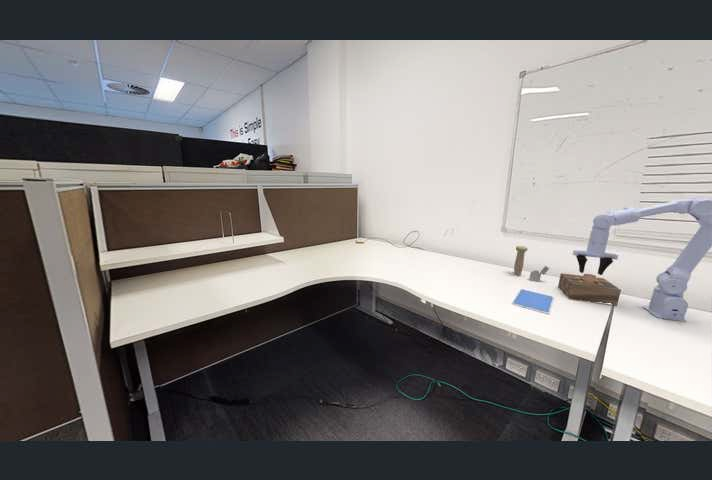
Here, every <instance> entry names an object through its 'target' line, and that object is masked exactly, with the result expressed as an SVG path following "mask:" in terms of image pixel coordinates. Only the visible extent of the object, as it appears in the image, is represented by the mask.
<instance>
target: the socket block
mask: <svg viewBox="0 0 712 480" xmlns="http://www.w3.org/2000/svg"><path fill="white" fill-rule="evenodd" d="M583 276H584V275H578V274H570V273H561V272H560V275H559V281H558V285H557V288H558V289H559V290H560V291H561V292H562V293H563V294H564V295H565V296H566V298H568V299H569V300H575V301H580V300H582V302H587V301H590V302H589V303H594V302H602V303H611V304H612V305H611V306H615V307H617V306H618V304H619V301H620V300H619V299H620V296H621V292H622V289H620V288H619V287H617V286H616V285H614V284H612V283H611V282H610V281H608V280H607V279H605V278H603V277H598V276H596V279H595V283H587V282H583V281H582V280H583Z"/></svg>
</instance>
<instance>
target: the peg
mask: <svg viewBox="0 0 712 480" xmlns="http://www.w3.org/2000/svg"><path fill="white" fill-rule="evenodd" d="M582 276H583V280H582V281H583V282H587V283H595V279H596V277H597V276H596V275H595V274H593V273H592V274H591V273H583V275H582Z"/></svg>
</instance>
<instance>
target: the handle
mask: <svg viewBox="0 0 712 480" xmlns="http://www.w3.org/2000/svg"><path fill="white" fill-rule="evenodd" d="M515 250H516V251H517V252H516V255H515V256H516V257H515V261H514V267H513V271H514V272H513V275H515V276H521V275H522V272H523V267H524V264H525V263H524V261H525V254H526V253H525V252H527V251H528V247H526V246H524V245H523V246H522V245H516V246H515Z"/></svg>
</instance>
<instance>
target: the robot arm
mask: <svg viewBox="0 0 712 480" xmlns="http://www.w3.org/2000/svg"><path fill="white" fill-rule="evenodd" d="M606 212H607V213H599V214H597V215H595V216H594V218H593V220H592V223H593V225H592V228H591V231H590V235H589V239H588V243H587V248H586V250H576V249H573V252H572V255H573V256H575V257H576V259H577V262H578V268H579V269H578V270H579V273H581V274H584V272H585V268H586V267H585V266H586V264H587V261H588V258H589V257H591V258H599V265H598V269H597V274H598V276H599V275H600V276H603V274H604V273H605V270H606V269H608V267H609V266H610V265H612V264H613V263H614V260H618V258H619V255H618V254H616V253H609V252H606V249H607V245H608V241H609V236H610V229H611V227H612V226H621V225H626V224H631V223H636V222H638V221H639V220H640V219H642V218H645V217H650V216H656V215H661V214H667V213H673V212H674V213H682V214H688V215H690V216H692V217H693V218H694V219H695V220H696V222H697V223H698V224H699V226H700V227H699V228H698V230H697V231H696V233H694V235H693V236H692V238H691V239H690V240H689V241H688V243H687V244H686V245H685V247H684V249H683V250H682V251H681V253H680V254H679V255H678V257H677V258H676V259H675V261H674V262H673V264H671V265H670V266H669V267H667V268H666V270H665V271H663V272H661V273H659V274H658V275H657V276H656V283H657V284H658V285H657V286H655V287H654V288H653V290H652V295H651V297H650V301H649V304H648V305H642V308H643V309H645V310H646V311H647V312H649V313H650V314H652V315H653V316H655V317H657V318H658V319H664V320H665V319H666V320H672V321H679V322H684V323H685V322H687V320H686V319H685V316H686V315H687V314H686V313H687V311H688V307H689V304H688V302H687V300H685V299H684V293H685V292H686V291H687V289H688V282H689V281H690V279H691V275H692V273H693V271H694V270H695V268H696V267H697V266H698V264H699V263H700V262H701V261H702V259H703V258H704V257H705V256H706V254H707V253H708V252H709V251H710V249H711V248H712V198H711V197H710V198H708V197H701V196H698V197H693V198H684V199H678V200H672V201H668V202H663V203H659V204H656V205H652V206H647V207H644V208H642V207H641V208H639V209H638V208H635V207H628V206H625V207H623V209H619V210H615V211H610V210H609V211H606Z"/></svg>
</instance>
